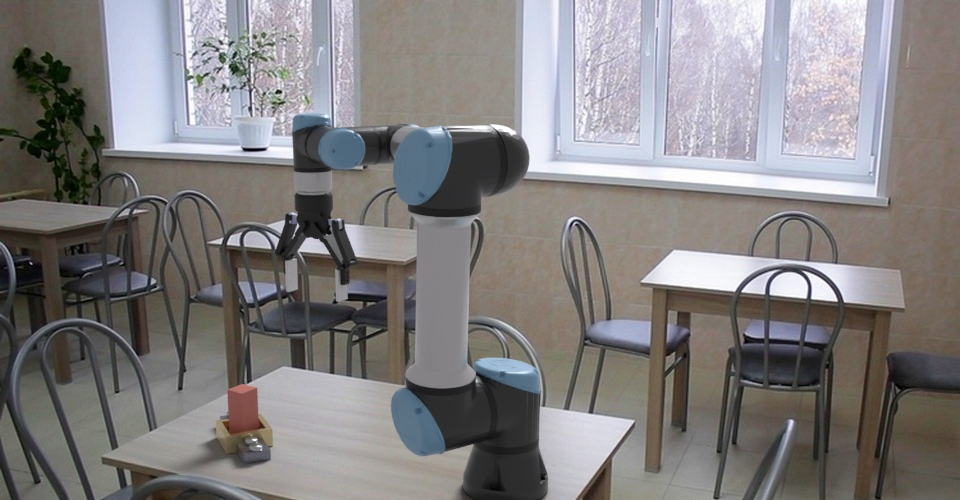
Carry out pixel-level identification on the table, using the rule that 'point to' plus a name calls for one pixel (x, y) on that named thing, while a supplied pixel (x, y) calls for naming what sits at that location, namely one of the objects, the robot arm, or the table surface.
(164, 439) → the table surface
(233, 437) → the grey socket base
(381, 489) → the table surface
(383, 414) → the table surface
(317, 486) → the table surface
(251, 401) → the link pin
